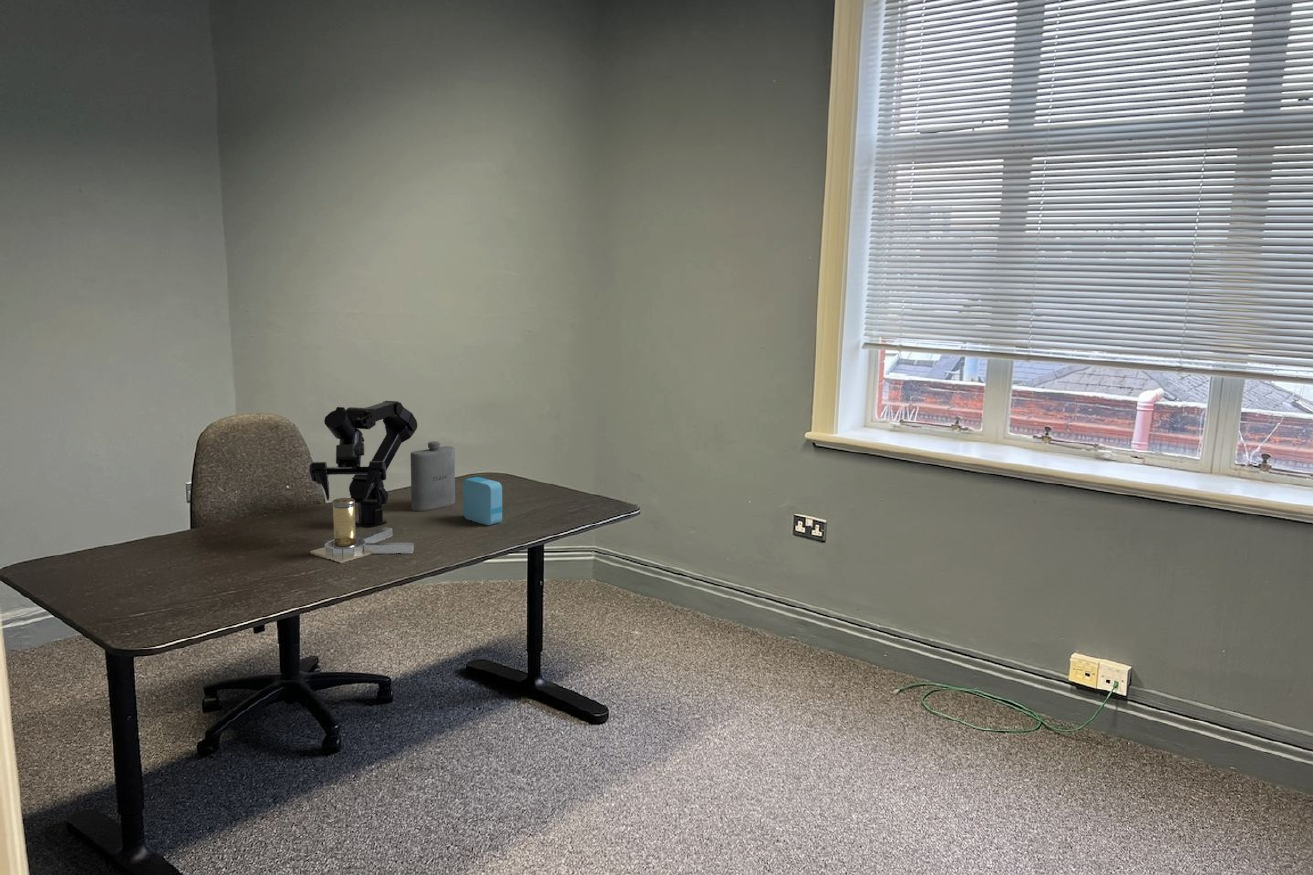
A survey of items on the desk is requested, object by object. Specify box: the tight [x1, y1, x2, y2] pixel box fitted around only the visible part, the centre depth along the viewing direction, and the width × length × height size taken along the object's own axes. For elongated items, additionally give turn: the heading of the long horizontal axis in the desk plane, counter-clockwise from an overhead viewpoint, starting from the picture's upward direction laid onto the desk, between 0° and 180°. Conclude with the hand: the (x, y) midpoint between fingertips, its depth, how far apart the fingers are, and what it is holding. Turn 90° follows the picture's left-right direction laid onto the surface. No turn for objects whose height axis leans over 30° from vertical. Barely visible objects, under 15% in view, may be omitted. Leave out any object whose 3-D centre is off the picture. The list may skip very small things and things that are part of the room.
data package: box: [462, 476, 503, 526], centre depth 266 cm, size 12×4×12 cm, turn 51°
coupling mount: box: [309, 526, 414, 564], centre depth 238 cm, size 20×23×2 cm
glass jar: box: [332, 497, 357, 548], centre depth 234 cm, size 5×5×13 cm
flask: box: [410, 440, 456, 512], centre depth 279 cm, size 15×6×20 cm, turn 141°
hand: (346, 499), depth 238 cm, fingers open, 9 cm apart
